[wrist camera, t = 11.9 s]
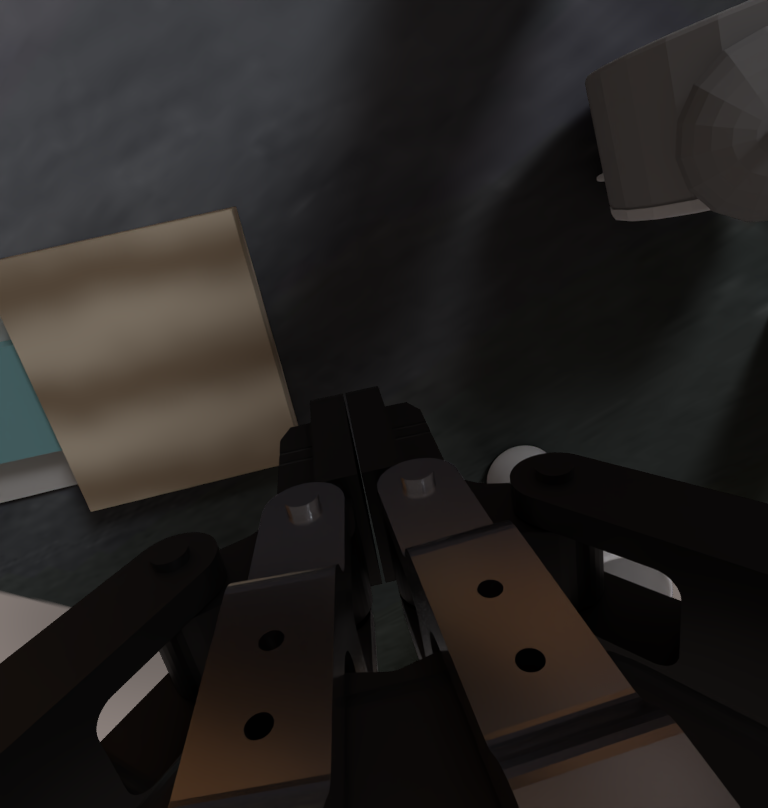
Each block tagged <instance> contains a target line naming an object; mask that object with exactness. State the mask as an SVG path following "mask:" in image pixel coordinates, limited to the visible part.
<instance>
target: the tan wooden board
mask: <svg viewBox="0 0 768 808" xmlns="http://www.w3.org/2000/svg"><path fill="white" fill-rule="evenodd" d="M0 317H1V319H2V321H3V323H4V325H5V327H6V330H7V332H8V334H9V336H10V338H11V340H12V343H13V345H14V347H15V349H16V351H17V353H18V355H19V358H20V360H21V362H22V364H23V366H24V368H25V371H26V373H27V375H28V377H29V379H30V381H31V384H32V386H33V388H34V390H35V392H36V394H37V397H38V399H39V401H40V403H41V405H42V407H43V409H44V412H45V414H46V416H47V418H48V420H49V422H50V425H51V427H52V429H53V431H54V433H55V435H56V438H57V440H58V442H59V444H60V446H61V448H62V450H63V453H64V455H65V457H66V459H67V461H68V463H69V466H70V468H71V470H72V472H73V474H74V476H75V479H76V481H77V483H78V485H79V487H80V489H81V492H82V494H83V496H84V498H85V500H86V502H87V504H88V507H89V509H90V511H91V512H93V511H97V510H101V509H105V508H109V507H113V506H117V505H121V504H125V503H129V502H133V501H137V500H141V499H145V498H149V497H153V496H157V495H161V494H165V493H169V492H174V491H178V490H182V489H186V488H190V487H194V486H198V485H202V484H206V483H210V482H214V481H218V480H222V479H226V478H230V477H234V476H238V475H242V474H246V473H250V472H254V471H259V470H263V469H267V468H271V467H275V466H279V456H280V453H279V452H280V440H281V439H282V438H283V436H284V435H285V434H286V432H287V431H288V430H289V429H290V427H295V426H298V422H297V419H296V415H295V412H294V408H293V405H292V401H291V398H290V394H289V391H288V387H287V384H286V380H285V377H284V373H283V370H282V366H281V363H280V359H279V356H278V352H277V349H276V345H275V342H274V338H273V335H272V331H271V328H270V324H269V321H268V317H267V314H266V310H265V307H264V303H263V300H262V296H261V293H260V289H259V286H258V282H257V279H256V275H255V272H254V268H253V265H252V261H251V258H250V254H249V251H248V247H247V244H246V240H245V237H244V233H243V230H242V226H241V223H240V219H239V216H238V212H237V209H236V206H235V207H231V208H226V209H222V210H217V211H213V212H208V213H204V214H199V215H195V216H190V217H186V218H181V219H177V220H172V221H168V222H164V223H159V224H155V225H150V226H146V227H141V228H137V229H132V230H128V231H123V232H119V233H114V234H110V235H105V236H101V237H96V238H92V239H87V240H83V241H78V242H74V243H69V244H65V245H60V246H56V247H51V248H47V249H42V250H38V251H33V252H29V253H24V254H20V255H15V256H11V257H6V258H2V259H0Z"/></svg>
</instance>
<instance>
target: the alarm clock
mask: <svg viewBox="0 0 768 808" xmlns="http://www.w3.org/2000/svg"><path fill="white" fill-rule="evenodd" d="M585 86H586V91H587V96H588V101H589V106H590V111H591V116H592V121H593V126H594V131H595V136H596V141H597V146H598V150H599V155H600V160H601V165H602V170H603V173H602V174H600V175H598V176H597V181H598V182H604V181H605V185H606V190H607V195H608V200H609V204H610V210H611V214H612V216H613V217H614V218H615V220H622V221H643V220H656V219H663V218H669V217H676V216H682V215H688V214H695V213H699V212H704V211H709V210H712V211H713V212H716V213H719V214H722V215H726V216H729V217H732V218H735V219H739V220H742V221H745V222H756V221H768V0H749V1H746V2H744V3H742V4H739V5H737V6H734V7H732V8H729V9H727V10H725V11H722V12H720V13H717V14H715V15H713V16H710V17H708V18H706V19H703V20H701V21H699V22H696V23H694V24H692V25H690V26H687V27H685V28H683V29H680V30H678V31H676V32H673V33H671V34H669V35H666V36H664V37H662V38H660V39H658V40H656V41H653V42H651V43H649V44H647V45H645V46H643V47H640V48H638V49H636V50H634V51H632V52H630V53H628V54H626V55H624V56H622V57H620V58H618V59H616V60H614V61H612V62H610V63H608V64H606V65H604V66H602V67H601V68H599V69H597V70H596V71H594V72H593V73H591V74H590V75H588V76H587V78H586V81H585Z"/></svg>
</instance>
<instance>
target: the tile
mask: <svg viewBox="0 0 768 808" xmlns="http://www.w3.org/2000/svg"><path fill="white" fill-rule="evenodd" d="M57 451H62V448H61V446H60V444H59V442H58V440H57V438H56V435H55V433H54V431H53V429H52V427H51V425H50V422H49V420H48V418H47V416H46V414H45V412H44V409H43V407H42V405H41V403H40V401H39V399H38V397H37V394H36V392H35V390H34V388H33V386H32V384H31V381H30V379H29V377H28V375H27V373H26V371H25V368H24V366H23V364H22V362H21V360H20V358H19V355H18V353H17V351H16V349H15V347H14V345H13V343H12V340H7V341H3V342H0V464H2V463H7V462H11V461H16V460H20V459H25V458H30V457H34V456H39V455H43V454H48V453H52V452H57Z"/></svg>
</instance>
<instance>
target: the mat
mask: <svg viewBox="0 0 768 808" xmlns="http://www.w3.org/2000/svg"><path fill="white" fill-rule="evenodd" d="M7 340H11V338H10V336H9V334H8V332H7V330H6V327H5V325H4V323H3V321H2V319H1V317H0V342H3V341H7ZM76 484H78V483H77V481H76V479H75V476H74V474H73V472H72V470H71V468H70V466H69V463H68V461H67V459H66V457H65V455H64V453H63V450H62V451H57V452H52V453H48V454H43V455H39V456H34V457H30V458H25V459H20V460H16V461H11V462H7V463H2V464H0V503H3V502H7V501H11V500H15V499H19V498H23V497H27V496H31V495H35V494H39V493H43V492H48V491H52V490H56V489H60V488H64V487H68V486H72V485H76Z"/></svg>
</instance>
